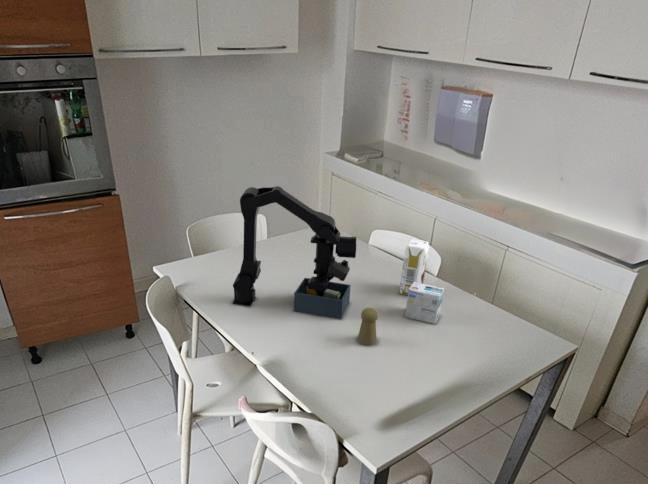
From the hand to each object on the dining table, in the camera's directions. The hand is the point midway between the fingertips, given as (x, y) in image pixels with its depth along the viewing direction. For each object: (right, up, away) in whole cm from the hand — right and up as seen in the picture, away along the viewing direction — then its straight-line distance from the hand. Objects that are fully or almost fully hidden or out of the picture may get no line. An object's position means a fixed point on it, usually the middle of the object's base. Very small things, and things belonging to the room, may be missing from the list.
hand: (322, 297), depth 181 cm
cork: (+14, -15, -15) cm, 25 cm away
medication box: (0, -1, +1) cm, 1 cm away
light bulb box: (+34, -7, -2) cm, 35 cm away
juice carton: (+33, +3, +14) cm, 36 cm away
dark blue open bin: (0, -3, +2) cm, 4 cm away
